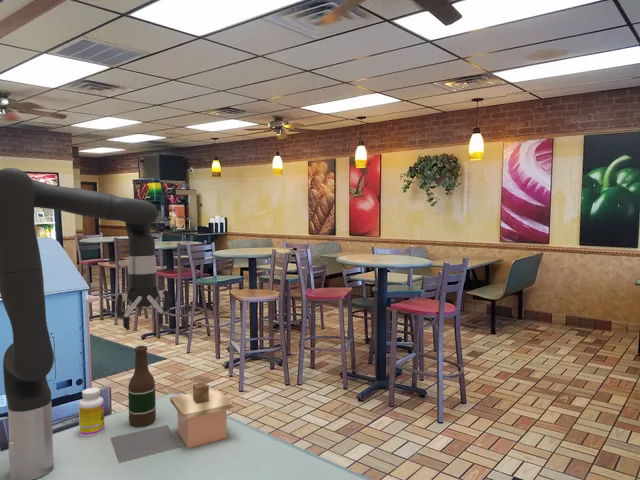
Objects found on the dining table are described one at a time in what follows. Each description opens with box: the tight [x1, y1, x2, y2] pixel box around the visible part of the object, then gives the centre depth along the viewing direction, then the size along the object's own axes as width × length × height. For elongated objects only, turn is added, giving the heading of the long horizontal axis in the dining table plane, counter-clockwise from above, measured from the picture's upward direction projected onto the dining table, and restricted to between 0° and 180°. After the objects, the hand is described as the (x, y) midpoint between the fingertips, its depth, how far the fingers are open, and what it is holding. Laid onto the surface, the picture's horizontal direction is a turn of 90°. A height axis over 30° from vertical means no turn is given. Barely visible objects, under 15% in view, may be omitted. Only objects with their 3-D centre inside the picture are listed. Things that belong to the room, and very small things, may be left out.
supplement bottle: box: [78, 387, 105, 438], centre depth 138 cm, size 7×7×13 cm
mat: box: [110, 424, 182, 464], centre depth 132 cm, size 16×16×1 cm
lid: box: [169, 381, 234, 419], centre depth 135 cm, size 14×14×6 cm
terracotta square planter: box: [177, 409, 228, 449], centre depth 136 cm, size 11×11×10 cm
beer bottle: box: [127, 345, 157, 428], centre depth 144 cm, size 8×8×24 cm
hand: (143, 327), depth 134 cm, fingers open, 8 cm apart
